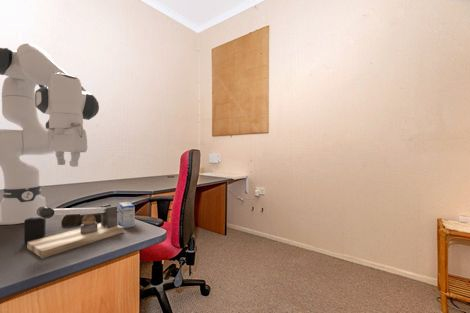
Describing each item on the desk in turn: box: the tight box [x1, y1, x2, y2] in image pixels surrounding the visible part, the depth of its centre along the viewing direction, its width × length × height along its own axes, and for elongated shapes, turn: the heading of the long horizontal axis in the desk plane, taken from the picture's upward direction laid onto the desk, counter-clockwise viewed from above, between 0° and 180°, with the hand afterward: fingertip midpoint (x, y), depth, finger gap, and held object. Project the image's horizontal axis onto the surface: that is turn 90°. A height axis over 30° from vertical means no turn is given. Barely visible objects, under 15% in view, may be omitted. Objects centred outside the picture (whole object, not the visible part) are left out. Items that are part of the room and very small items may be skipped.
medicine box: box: [117, 201, 136, 229], centre depth 92 cm, size 8×4×9 cm, turn 40°
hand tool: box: [60, 213, 101, 227], centre depth 96 cm, size 19×4×5 cm, turn 120°
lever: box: [37, 206, 107, 219], centre depth 77 cm, size 4×22×3 cm, turn 147°
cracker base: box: [26, 203, 124, 259], centre depth 77 cm, size 12×24×10 cm, turn 147°
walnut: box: [81, 213, 97, 225], centre depth 79 cm, size 4×4×4 cm
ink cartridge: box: [23, 217, 47, 245], centre depth 75 cm, size 5×2×8 cm, turn 120°
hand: (67, 165), depth 75 cm, fingers open, 8 cm apart
